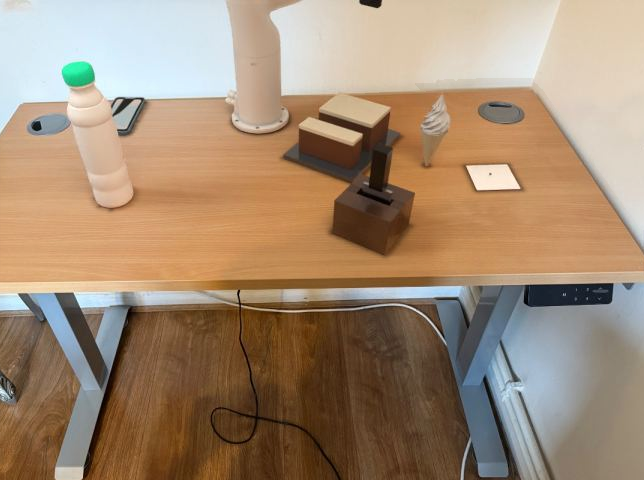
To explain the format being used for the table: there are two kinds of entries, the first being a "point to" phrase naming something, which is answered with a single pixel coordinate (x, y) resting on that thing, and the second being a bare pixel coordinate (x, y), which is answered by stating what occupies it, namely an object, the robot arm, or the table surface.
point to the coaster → (492, 177)
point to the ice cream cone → (434, 128)
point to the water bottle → (96, 137)
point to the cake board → (334, 169)
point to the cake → (357, 117)
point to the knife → (379, 175)
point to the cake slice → (330, 142)
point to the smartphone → (126, 112)
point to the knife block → (371, 216)
